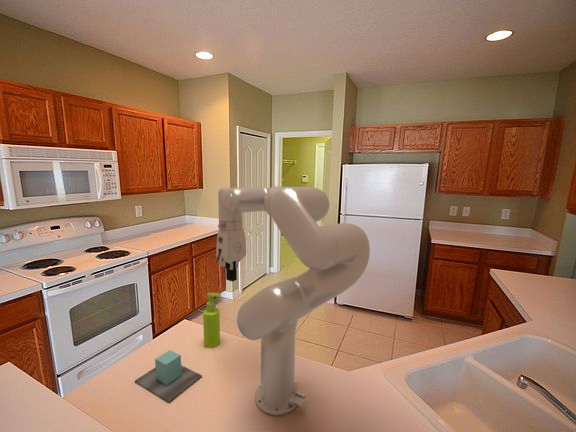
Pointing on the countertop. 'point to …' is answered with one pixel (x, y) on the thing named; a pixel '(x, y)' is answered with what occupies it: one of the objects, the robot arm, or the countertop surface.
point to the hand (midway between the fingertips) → (231, 279)
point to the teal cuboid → (168, 367)
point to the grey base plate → (171, 389)
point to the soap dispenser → (211, 322)
